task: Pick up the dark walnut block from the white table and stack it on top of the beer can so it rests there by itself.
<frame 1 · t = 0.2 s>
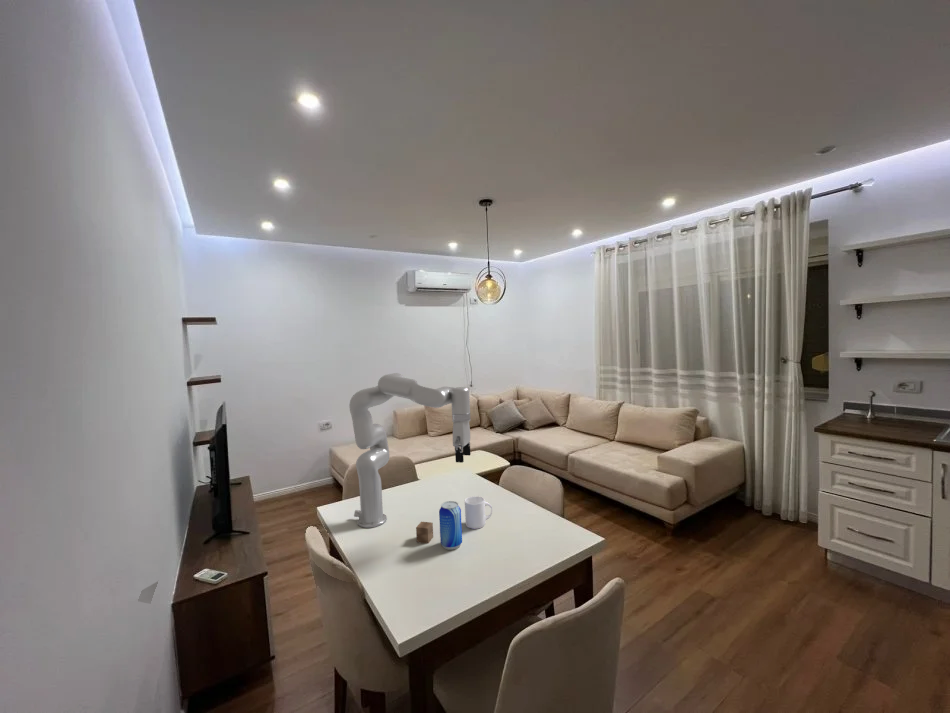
hand: (463, 458, 159), 31 cm above the table, fingers open, 9 cm apart
beer can: (451, 545, 150), on the table
mug: (479, 524, 166), on the table
walnut block: (425, 539, 155), on the table
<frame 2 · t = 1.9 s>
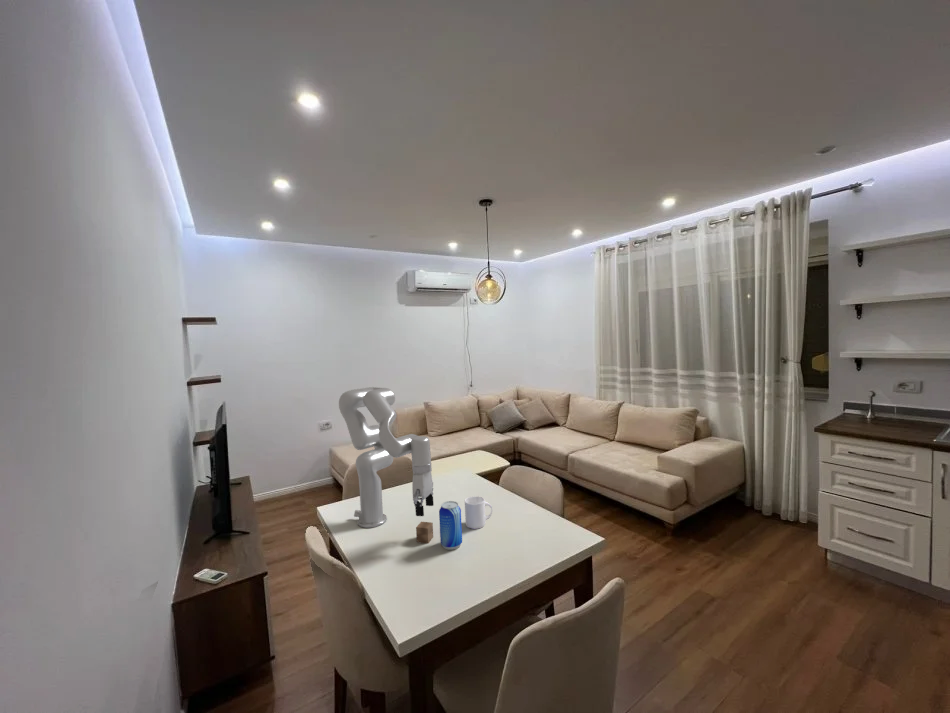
hand: (425, 510, 154), 12 cm above the table, fingers open, 9 cm apart
nothing on the table moved.
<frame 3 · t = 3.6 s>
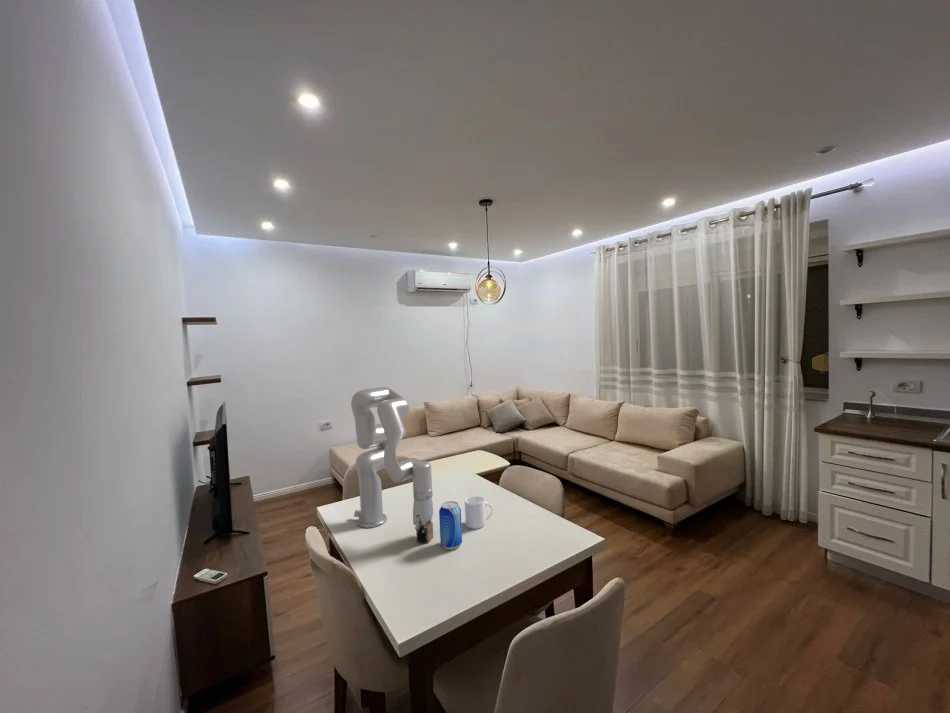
hand: (425, 537, 155), 1 cm above the table, fingers closed on walnut block, 5 cm apart
walnut block: (425, 539, 155), on the table, touching gripper
everything else where it was.
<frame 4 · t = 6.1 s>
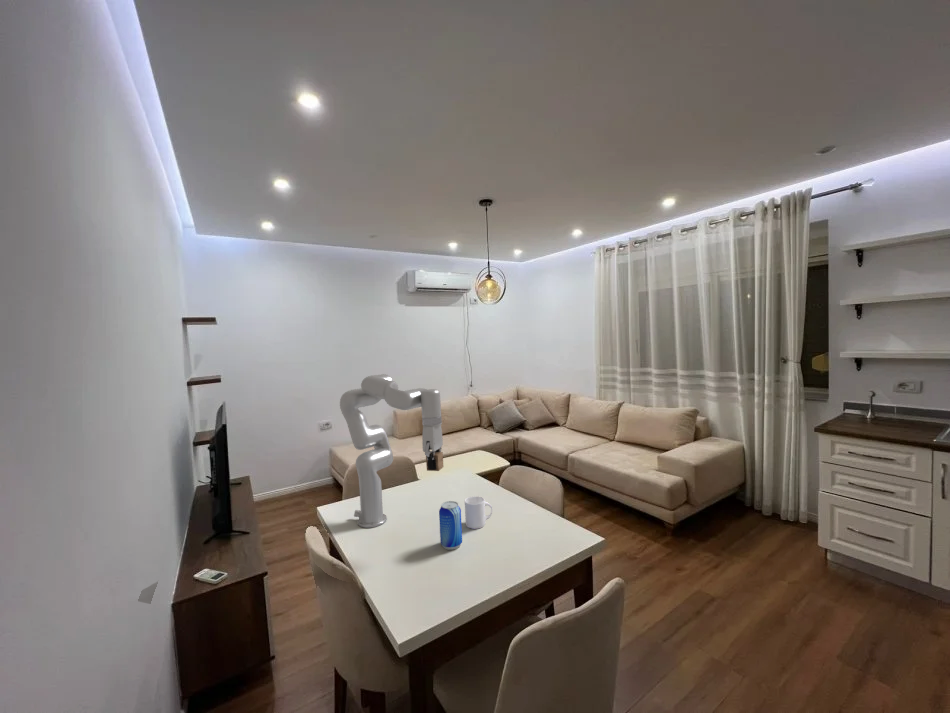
hand: (435, 466, 151), 30 cm above the table, fingers closed on walnut block, 5 cm apart
walnut block: (435, 468, 151), point 29 cm above the table, touching gripper
everything else where it was.
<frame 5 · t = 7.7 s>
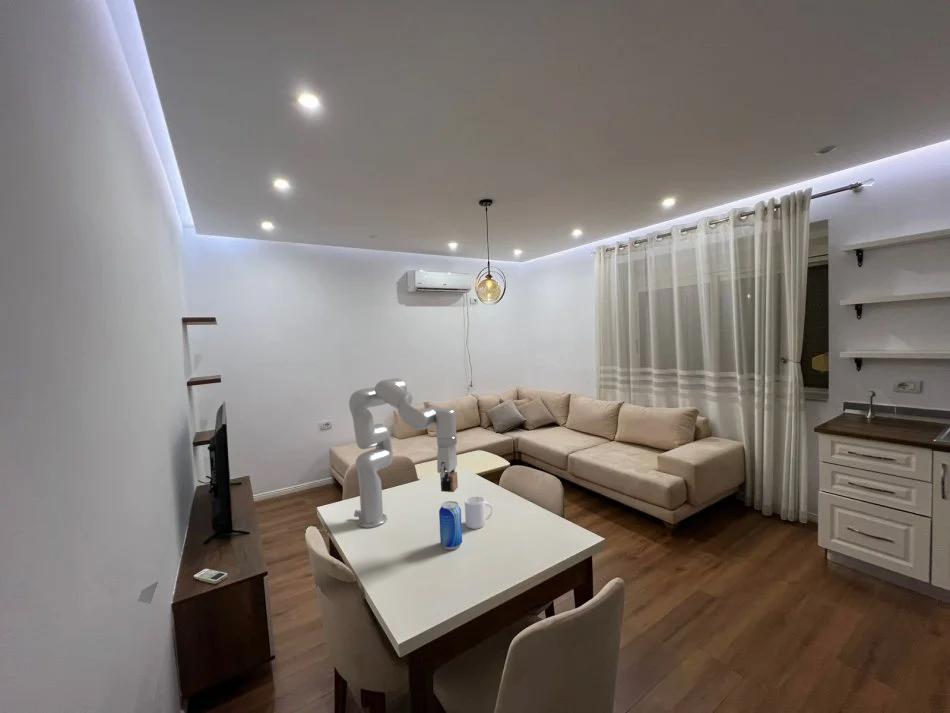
hand: (449, 487, 149), 23 cm above the table, fingers closed on walnut block, 5 cm apart
walnut block: (449, 489, 149), point 22 cm above the table, touching gripper
everything else where it was.
when the fingers open (18 cm above the table, at t = 8.9 s): walnut block drops 1 cm, resting on beer can.
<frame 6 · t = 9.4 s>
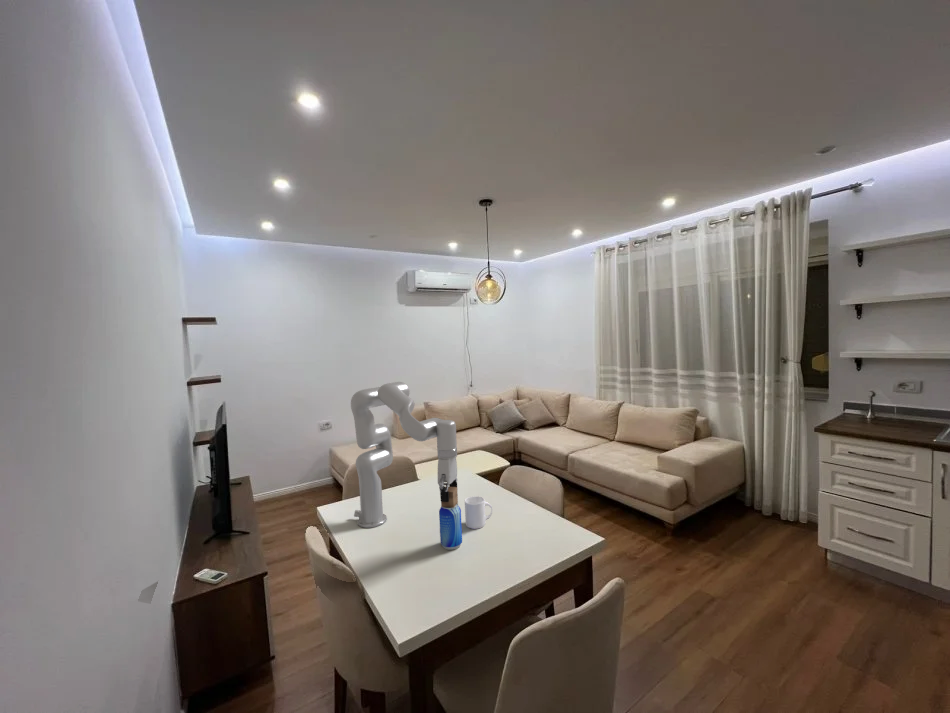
hand: (449, 496, 149), 19 cm above the table, fingers open, 9 cm apart
beer can: (451, 545, 150), on the table, touching walnut block
walnut block: (449, 504, 149), point 16 cm above the table, touching beer can
everything else where it was.
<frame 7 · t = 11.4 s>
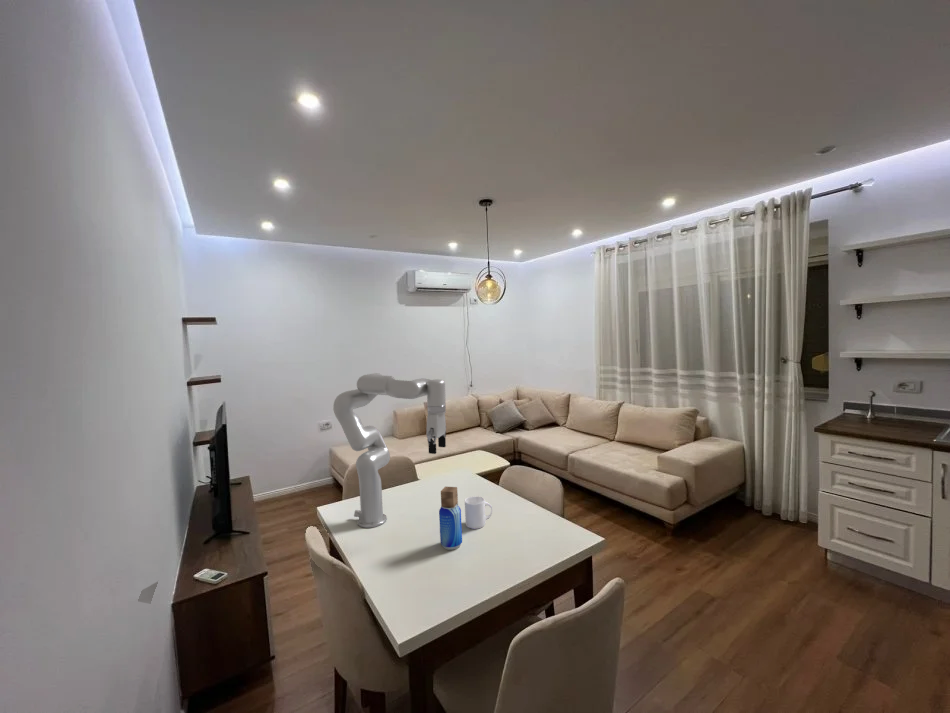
hand: (437, 450, 161), 34 cm above the table, fingers open, 9 cm apart
nothing on the table moved.
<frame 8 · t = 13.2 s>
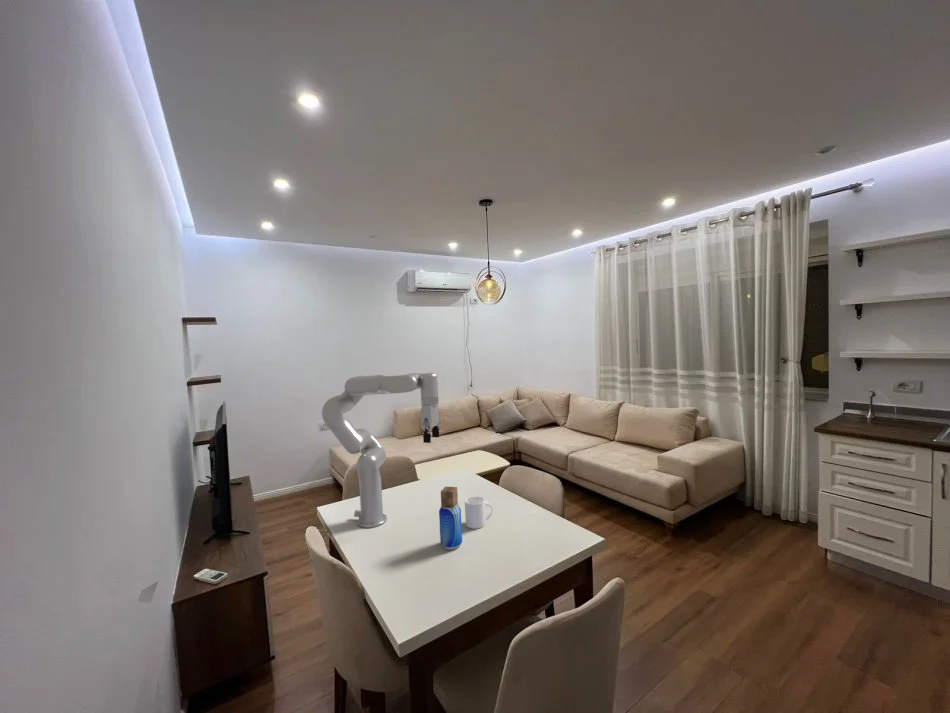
hand: (431, 439, 170), 36 cm above the table, fingers open, 9 cm apart
nothing on the table moved.
at the end: walnut block 0.0 cm from the beer can (horizontally); walnut block point 16.0 cm above the table; walnut block tilted 0° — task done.
